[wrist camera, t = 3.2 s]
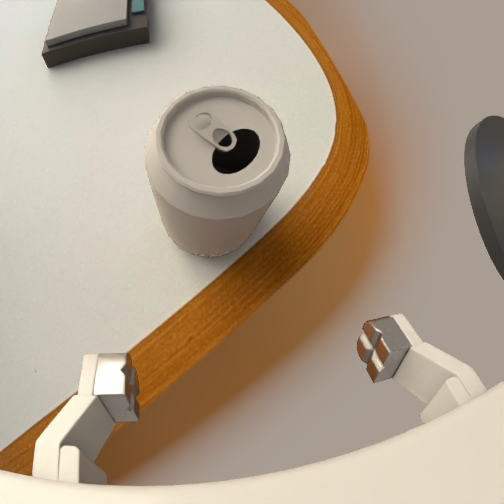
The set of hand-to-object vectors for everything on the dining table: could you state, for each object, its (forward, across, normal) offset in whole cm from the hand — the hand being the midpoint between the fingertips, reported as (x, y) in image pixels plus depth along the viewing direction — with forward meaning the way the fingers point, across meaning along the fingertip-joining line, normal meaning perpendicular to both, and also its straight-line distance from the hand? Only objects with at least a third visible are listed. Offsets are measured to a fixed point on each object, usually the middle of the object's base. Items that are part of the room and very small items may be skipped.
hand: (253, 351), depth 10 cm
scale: (+35, +12, -15) cm, 40 cm away
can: (+17, 0, +4) cm, 17 cm away
